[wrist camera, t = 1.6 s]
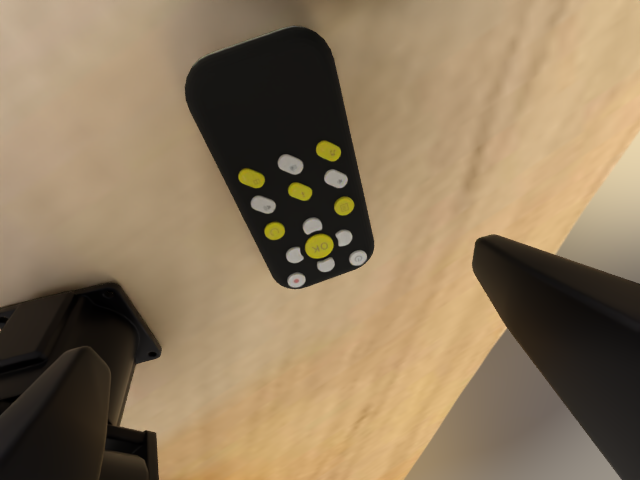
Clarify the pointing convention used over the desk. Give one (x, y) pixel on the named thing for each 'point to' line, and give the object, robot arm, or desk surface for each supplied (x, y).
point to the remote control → (285, 152)
